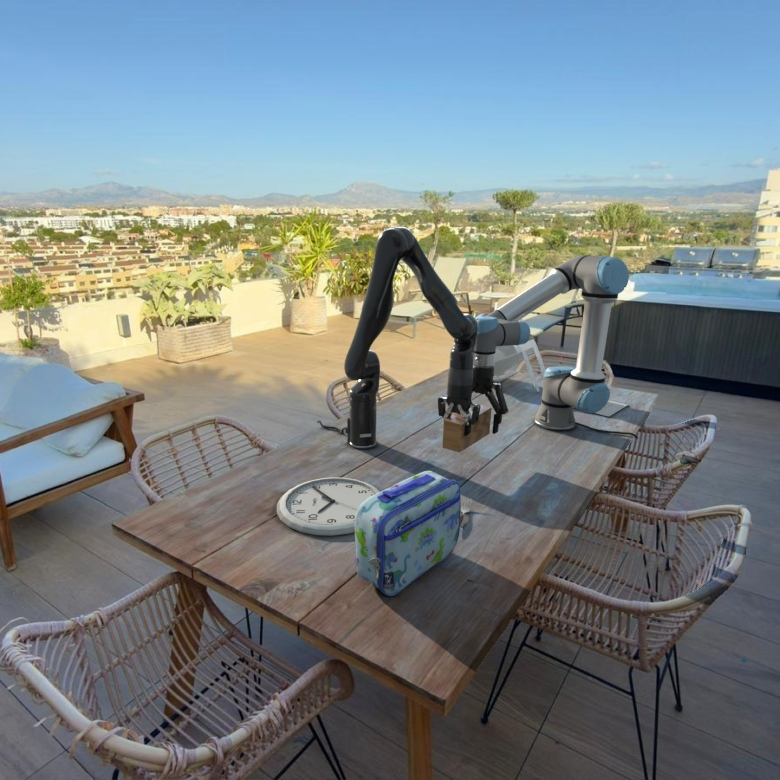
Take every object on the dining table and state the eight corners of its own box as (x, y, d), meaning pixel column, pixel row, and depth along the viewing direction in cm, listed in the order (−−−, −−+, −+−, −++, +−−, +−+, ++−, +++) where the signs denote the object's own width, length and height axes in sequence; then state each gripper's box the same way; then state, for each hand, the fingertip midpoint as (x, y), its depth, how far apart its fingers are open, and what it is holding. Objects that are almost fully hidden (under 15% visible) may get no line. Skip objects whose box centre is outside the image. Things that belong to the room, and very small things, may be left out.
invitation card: (608, 416, 214) (573, 407, 224) (608, 416, 214) (573, 408, 224) (628, 404, 229) (594, 396, 238) (628, 405, 229) (594, 397, 238)
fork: (449, 533, 130) (450, 526, 130) (463, 503, 145) (463, 496, 144) (459, 535, 129) (460, 528, 129) (472, 505, 144) (473, 498, 143)
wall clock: (392, 527, 129) (268, 531, 127) (391, 533, 130) (269, 537, 127) (383, 473, 158) (282, 475, 155) (383, 478, 158) (282, 480, 156)
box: (472, 429, 179) (474, 403, 176) (489, 433, 176) (491, 407, 173) (442, 447, 164) (443, 420, 161) (459, 452, 160) (461, 424, 157)
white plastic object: (484, 420, 263) (463, 398, 239) (465, 347, 285) (445, 319, 261) (556, 396, 251) (542, 370, 226) (530, 322, 273) (515, 290, 248)
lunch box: (383, 609, 104) (384, 516, 98) (348, 583, 111) (347, 495, 105) (463, 555, 122) (469, 473, 115) (429, 536, 129) (432, 458, 123)
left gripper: (433, 379, 159) (430, 430, 164) (475, 388, 151) (471, 442, 156) (446, 374, 165) (443, 424, 170) (487, 383, 157) (483, 434, 162)
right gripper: (443, 361, 172) (440, 422, 178) (512, 374, 158) (506, 440, 164) (455, 357, 178) (452, 416, 184) (522, 369, 164) (516, 433, 170)
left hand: (456, 432), depth 163 cm, fingers closed on box, 6 cm apart
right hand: (477, 428), depth 174 cm, fingers open, 12 cm apart
